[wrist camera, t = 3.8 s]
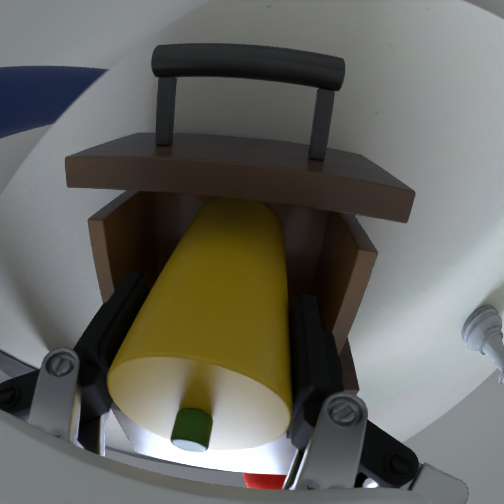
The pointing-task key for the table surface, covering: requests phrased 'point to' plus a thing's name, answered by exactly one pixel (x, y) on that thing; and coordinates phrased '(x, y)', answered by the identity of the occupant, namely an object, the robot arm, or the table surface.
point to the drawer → (242, 183)
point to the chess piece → (486, 336)
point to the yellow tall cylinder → (213, 336)
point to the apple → (264, 480)
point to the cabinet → (246, 460)
